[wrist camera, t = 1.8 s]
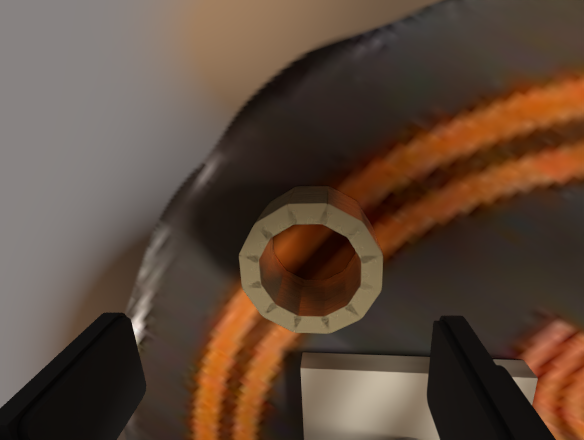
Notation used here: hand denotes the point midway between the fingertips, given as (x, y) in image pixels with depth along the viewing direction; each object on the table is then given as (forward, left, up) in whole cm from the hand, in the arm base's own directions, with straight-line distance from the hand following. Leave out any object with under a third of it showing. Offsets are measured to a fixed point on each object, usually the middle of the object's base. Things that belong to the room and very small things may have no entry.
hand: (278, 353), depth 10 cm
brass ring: (-1, 0, -11) cm, 11 cm away
